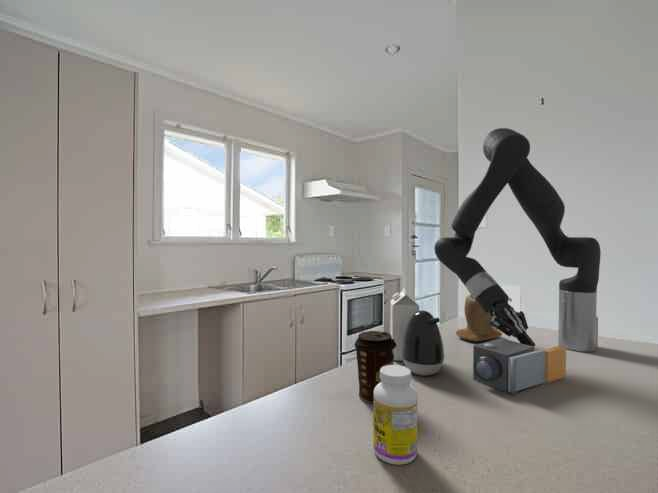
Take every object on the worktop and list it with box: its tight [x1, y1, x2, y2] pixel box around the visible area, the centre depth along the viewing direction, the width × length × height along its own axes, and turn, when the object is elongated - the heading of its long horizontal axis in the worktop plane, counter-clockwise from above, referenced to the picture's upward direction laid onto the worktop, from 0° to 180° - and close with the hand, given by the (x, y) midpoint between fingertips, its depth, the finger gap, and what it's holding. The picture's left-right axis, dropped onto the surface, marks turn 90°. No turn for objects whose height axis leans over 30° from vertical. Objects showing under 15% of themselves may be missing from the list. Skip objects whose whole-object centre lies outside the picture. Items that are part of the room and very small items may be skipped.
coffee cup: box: [354, 330, 397, 404], centre depth 72 cm, size 9×8×13 cm
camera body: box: [472, 337, 535, 393], centre depth 79 cm, size 14×8×8 cm, turn 122°
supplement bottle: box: [372, 364, 419, 466], centre depth 53 cm, size 7×7×13 cm
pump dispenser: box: [402, 310, 445, 377], centre depth 85 cm, size 10×10×15 cm
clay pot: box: [455, 293, 503, 342], centre depth 113 cm, size 15×12×15 cm
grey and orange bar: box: [508, 345, 567, 395], centre depth 77 cm, size 19×2×7 cm, turn 117°
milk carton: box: [389, 286, 420, 362], centre depth 96 cm, size 7×7×19 cm
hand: (531, 347), depth 85 cm, fingers closed
